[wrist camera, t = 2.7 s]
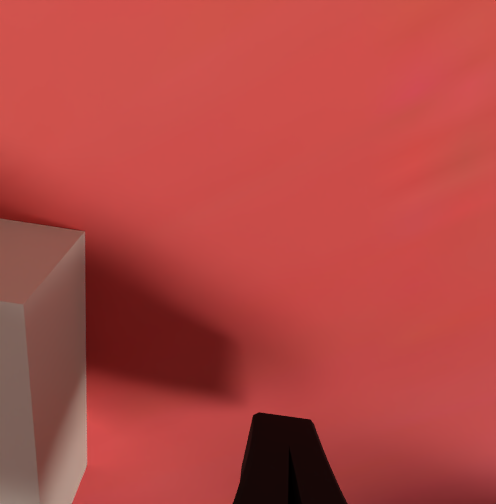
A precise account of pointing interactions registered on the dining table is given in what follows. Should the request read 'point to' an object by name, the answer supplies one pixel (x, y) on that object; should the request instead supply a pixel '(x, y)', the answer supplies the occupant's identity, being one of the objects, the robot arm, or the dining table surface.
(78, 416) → the t block
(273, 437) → the robot arm
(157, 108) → the dining table surface
